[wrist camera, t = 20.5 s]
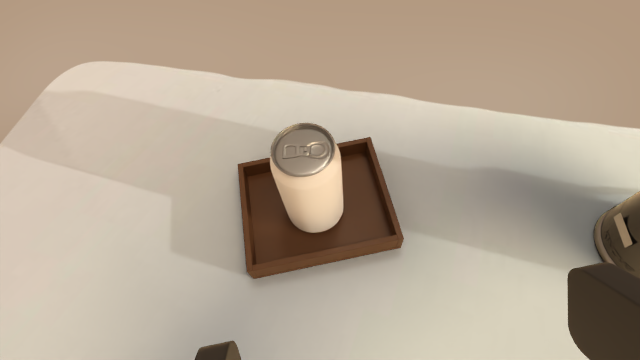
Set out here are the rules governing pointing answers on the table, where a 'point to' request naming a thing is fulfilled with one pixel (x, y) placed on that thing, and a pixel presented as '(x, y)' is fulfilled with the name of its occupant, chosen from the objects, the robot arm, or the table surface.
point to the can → (308, 176)
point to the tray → (324, 247)
